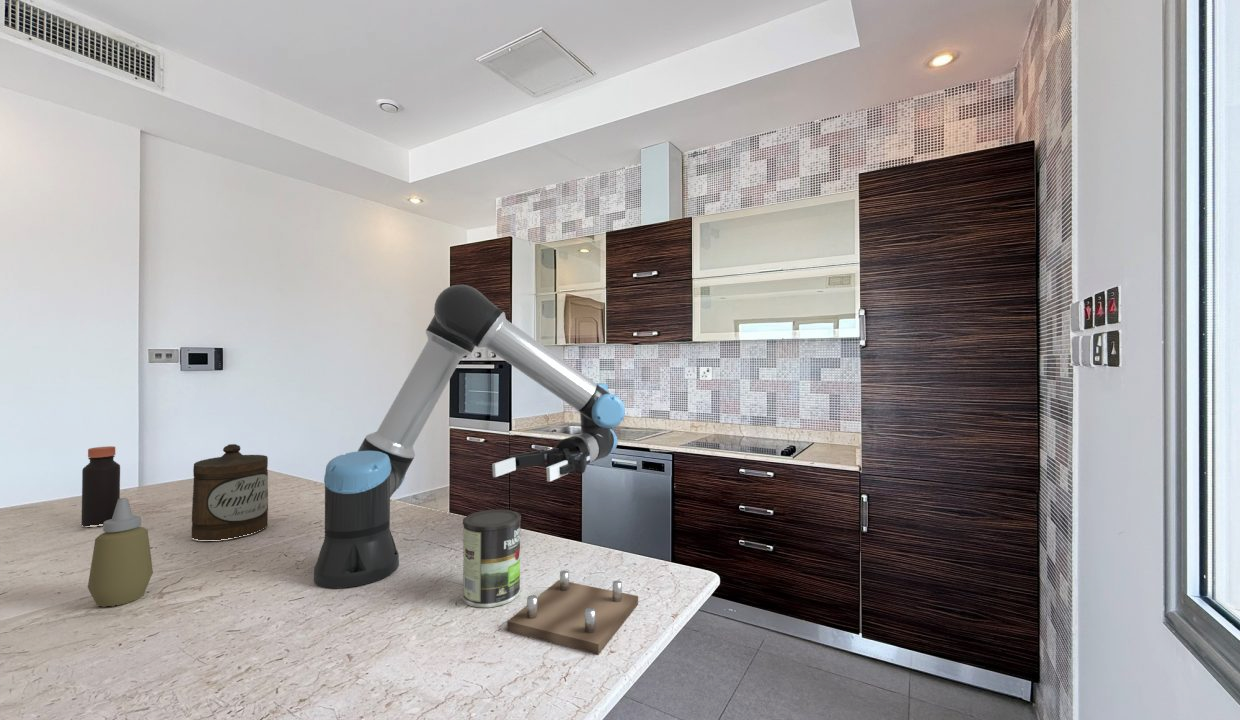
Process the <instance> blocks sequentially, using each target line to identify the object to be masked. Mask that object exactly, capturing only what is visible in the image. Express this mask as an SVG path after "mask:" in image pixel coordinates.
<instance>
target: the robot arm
mask: <svg viewBox="0 0 1240 720" xmlns="http://www.w3.org/2000/svg"><path fill="white" fill-rule="evenodd" d="M433 309H434V310H433V311H434V315H433V317H432V318H431V321H430V323H429V325H427V328H426V330H425V334H426V337H427V341H426V343H425V345H424V347H423V349H422V350H421V353H420V354H419V356H418V358H417V359H416V361H415V363H414V364H413V367H412V368H411V369H410V371H409V374H408V376H407V377H406V379H405V381H404V382H403V384H402V386H401V388H400V390H399V391H398V393H397V395H396V397H395V398H394V400H393V402H392V404H391V406H390V407H389V409H388V411H387V413H386V414H385V416H384V418H383V420H382V421H381V423H380V425H379V427H378V429H377V431H375V432H372V433H369V434H367V435H365V438H364V439H363V440H362V443H361V444H360V446H359V448H358V450H357V451H351V452H347V453H345V454H340V455H338V456H337V455H336V457H333V458H331V460H330V461H328V463H327V464H326V468H325V473H324V477H323V478H324V480H323V482H324V483H323V484H324V539H323V543H322V545H321V548H320V551H319V553H318V557H317V560H316V563H315V564H314V567H313V582H314V584H315V585H317V586H320V587H322V588H323V587H324V588H328V589H330V588H331V589H343V588H352V587H353V588H354V587H359V586H363V585H367V584H371V583H374V582H377V581H380V580H382V579H385V578H386V577H389V576H391V575H392V574H393V573H395V572H396V571H397V570H398V568H399V564H400V563H399V560H400V559H399V558H400V555H399V551H398V550H397V547H396V543H395V540H394V537H393V534H392V532H391V522H390V521H391V520H390V519H391V517H390V516H391V497H392V496H393V494H394V493H395V492H396V491H397V490H398V489H400V487H401V486H402V484H403V482H404V481H405V478H406V474H407V472H408V470H409V468H410V466H411V464H412V462H413V461H414V459H415V457H416V453H415V450H414V444H415V443H416V441H417V440H418V438H419V436H420V434H421V432H422V431H423V429H424V427H425V425H426V423H427V421H428V419H429V418H430V415H431V414H432V412H433V410H434V408H435V406H436V405H437V403H438V401H439V399H440V398H441V396H442V394H443V392H444V390H445V388H446V387H447V385H448V383H449V382H450V380H451V378H452V376H453V374H454V372H455V371H456V369H457V366H458V365H459V363H460V361H461V359H462V358H463V357H465V356H469V355H471V354H472V352H474V350H475V347H476V348H478V349H480V348H486V349H487V350H489V351H491V353H494V354H495V355H496V356H498V357H499V358H501V359H503V360H504V361H505V362H507V363H508V364H509V365H511V366H512V367H514V368H515V369H516V370H518V371H520V372H521V373H523V374H524V375H525V376H527V377H528V378H530V379H531V380H533V381H534V382H536V383H537V384H538V385H540V386H541V387H543V388H544V389H545V390H547V391H549V392H550V393H552V394H553V395H555V396H556V397H557V398H559V399H560V400H562V401H563V402H564V403H566V404H568V405H569V406H571V408H574V409H575V410H576V411H578V412H579V416H580V433H579V434H576V435H572V436H569V437H566V438H563V439H561V440H559V442H558V443H557V444H556V446H555V447H554V448H551V449H548V450H547V449H545V450H544V449H543V448H540V449H538V450H534V451H528V452H522V453H517V454H511V455H506V456H505V459H504V460H501V461H497V462H494V463H492V465H491V467H492V477H493V478H497V477H500V476H503V475H506V474H509V473H514V472H515V471H516V470H517V469H521V468H529V467H536V466H541V467H542V468H545V467H546V468H545V469H546V470H545V471H546V482H553V481H554V480H557V479H559V478H561V477H563V476H566V475H568V474H575V473H576V471H578V473H580V474H584V473H585V472H586V468H587V465H589V464H591V463H593V462H595V461H598V460H601V459H605V458H606V457H608V456H610V455H611V454H612V453H613V452H614V451H616V448H617V446H618V437H617V435H616V432H615V431H614V430H613V429H612V428H615V427H618V426H619V425H620V424H621V423H622V421H624V418H625V416H626V406H625V405H624V402H623V401H622V399H621V398H620V397H618V396H617V395H615V394H613V393H610V392H609V387H608V384H606V383H604V382H599V383H598V382H595V381H593V380H592V379H591V378H589V377H587V376H586V375H585V374H584V373H582V372H580V371H579V370H578V369H577V368H575V367H573V366H572V365H571V364H569V363H568V361H567V362H566V361H565V360H564V359H563V358H561V357H560V356H559V355H557V354H556V353H554V352H552V351H551V350H550V349H548V348H547V347H546V346H544V345H543V344H541V343H540V342H539V341H537V340H535V339H534V338H533V337H532V336H530V335H529V334H527V333H526V332H525V331H523V330H522V329H520V328H519V327H517V326H516V325H515V324H513V323H512V322H510V321H509V320H508V319H507V318H506V313H505V312H504V311H503V310H502V309H500V308H499V307H498V306H496V305H495V304H494V303H493V302H492V301H491V300H489V299H488V298H487V297H486V296H485V295H484V294H483V293H482V292H481V291H479V290H478V289H476V288H475V287H473V286H470V285H467V284H455V285H451V286H448V287H447V288H444V290H442V292H440V293H439V295H438V296H437V298H436V299H435V303H434V308H433ZM545 460H546V461H545Z"/></svg>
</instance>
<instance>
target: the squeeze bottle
mask: <svg viewBox="0 0 1240 720" xmlns="http://www.w3.org/2000/svg"><path fill="white" fill-rule="evenodd" d="M141 518H142V517H141V516H140V515H135V514H134V515H133V513H132V509H131V506H130V503H129V499H128V497H121V498H120V499H118V501H117V504H116V508H115V511H114V514H113V517H112V519H109V520H107V521H105V522H104V523H103V526H102V531H103V532H102V533H101V534H99V535H98V536H97V537H96V538H95V539H94V545H93V551H92V558H91V564H90V570H89V578H88V582H87V589H88V590H89V593H90V595H91V597H92V599H93V601H94V602H95V605H96V606H97V605H98V606H102V607H101V608H107V607H106V606H112V607H116V606H115V605H117V606H122V605H125V604H128V603H132V602H134V601H136V599H137V600H139V599H140V598H142V597H144V595H145V593H146V590H147V588H148V585H149V583H150V581H151V578H152V577H153V574H154V571H153V569H154V568H153V561H152V553H151V547H150V546H151V545H150V539H149V530H148V529H147V528H145V527H143V526H141V523H142V522H141V520H142V519H141ZM141 596H142V597H141ZM138 598H139V599H138ZM133 600H134V601H133ZM131 601H132V602H131ZM121 604H122V605H121ZM98 606H97V607H98Z"/></svg>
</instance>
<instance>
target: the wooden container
mask: <svg viewBox="0 0 1240 720" xmlns="http://www.w3.org/2000/svg"><path fill="white" fill-rule="evenodd" d="M222 451H223V452H224V454H222V456H217V457H211V458H207V459H201V460H199V461H195V463H194V464H193V468H192V469H193V474H192V475H193V486H192V487H193V489H192V504H191V505H192V506H191V523H192V524H191V539H192V538H194V539H198V540H221V539H228V538H234V537H239V536H243V535H247V534H251V533H254V532H257V531H259V530H261V529H263V528H265V527H266V526H267V527H268V520H269V519H268V517H269V475H268V474H269V471H268V466H269V463H268V462H269V461H268V459H269V457H268V456H267V455H264V454H243V453H241V452H240V451H241V445H237V444H236V443H230V444H227V445H225V446H224V447H223V449H222ZM267 527H266V528H267ZM266 528H265V529H266Z"/></svg>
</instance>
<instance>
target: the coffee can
mask: <svg viewBox="0 0 1240 720" xmlns="http://www.w3.org/2000/svg"><path fill="white" fill-rule="evenodd" d="M521 520H522V515H521V514H520V512H517V511H514V510H511V509H488V510H479V511H477V512H473V513H470V514H468V515H466V516H464V517H463V519H462V525H463V543H462V544H463V546H462V547H463V551H462V552H463V553H462V554H463V560H462V561H463V565H462V566H463V567H462V568H463V570H462V571H463V572H462V573H463V574H462V575H463V576H462V579H463V581H462V582H463V584H462V585H463V586H462V589H463V590H462V594H463V595H462V601H463V602H464V603H465V604H466V605H468V606H470V607H473V608H474V607H475V608H479V609H480V608H484V609H486V608H496V607H500V606H504V605H506V604H509V603H511V602H513V601H515V600H516V599H517V598H518V597H519V596H520V594H521Z"/></svg>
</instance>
